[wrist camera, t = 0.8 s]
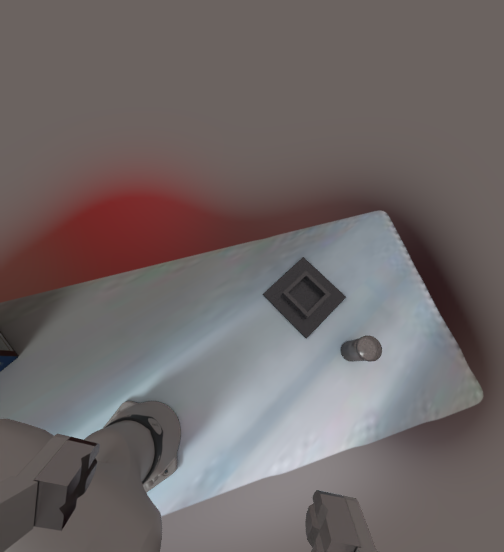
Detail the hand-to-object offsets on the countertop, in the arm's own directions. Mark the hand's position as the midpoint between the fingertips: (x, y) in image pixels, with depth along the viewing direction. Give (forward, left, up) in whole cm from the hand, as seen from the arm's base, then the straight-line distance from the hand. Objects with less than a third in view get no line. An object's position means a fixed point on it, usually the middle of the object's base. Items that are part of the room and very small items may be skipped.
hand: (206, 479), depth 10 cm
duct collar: (+29, +3, -58) cm, 65 cm away
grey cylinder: (+27, -15, -58) cm, 65 cm away
